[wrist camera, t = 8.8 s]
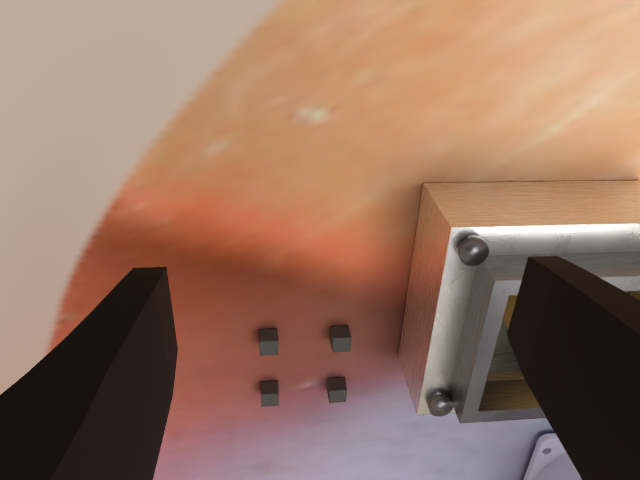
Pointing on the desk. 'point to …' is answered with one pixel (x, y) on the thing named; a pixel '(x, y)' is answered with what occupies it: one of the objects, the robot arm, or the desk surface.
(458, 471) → the desk surface
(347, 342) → the cradle
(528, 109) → the desk surface
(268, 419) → the desk surface
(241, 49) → the desk surface
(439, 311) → the silver open square box
